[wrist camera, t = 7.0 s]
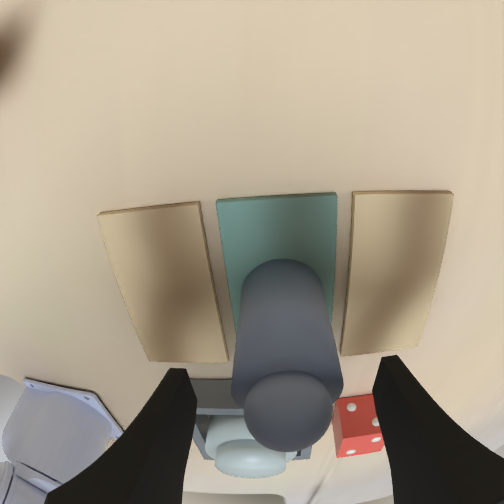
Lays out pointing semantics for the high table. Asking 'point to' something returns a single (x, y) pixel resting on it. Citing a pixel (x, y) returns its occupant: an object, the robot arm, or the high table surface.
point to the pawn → (285, 357)
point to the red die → (356, 426)
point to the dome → (241, 449)
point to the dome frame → (218, 410)
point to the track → (278, 247)
